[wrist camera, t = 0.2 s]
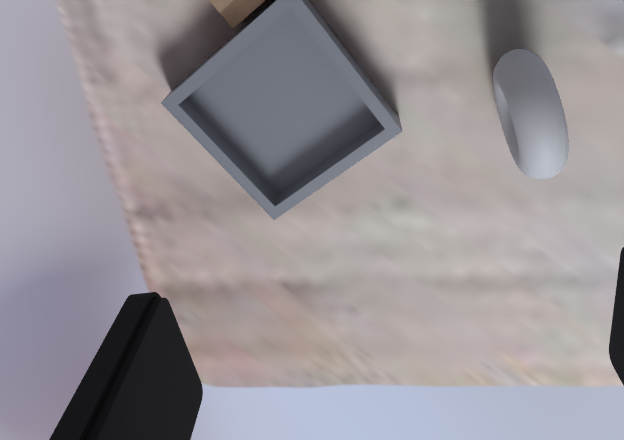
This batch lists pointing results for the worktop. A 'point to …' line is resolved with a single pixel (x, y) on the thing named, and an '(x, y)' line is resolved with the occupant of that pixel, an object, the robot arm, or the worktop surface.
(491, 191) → the worktop surface
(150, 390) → the robot arm
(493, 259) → the worktop surface
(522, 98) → the donut
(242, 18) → the holder
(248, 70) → the tray
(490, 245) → the worktop surface
